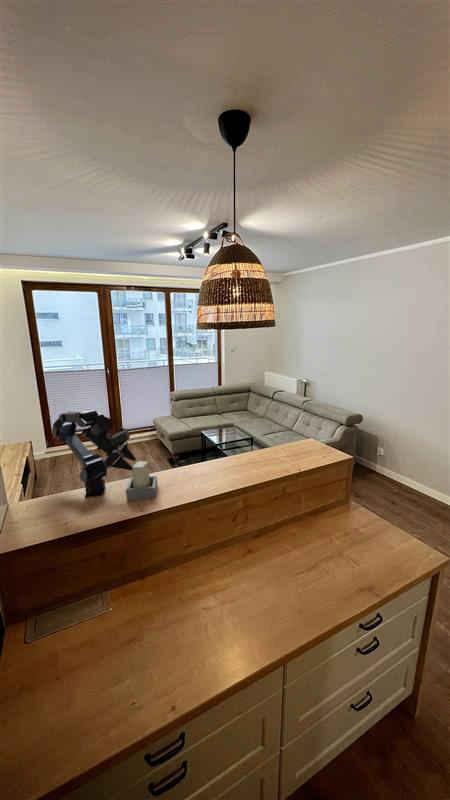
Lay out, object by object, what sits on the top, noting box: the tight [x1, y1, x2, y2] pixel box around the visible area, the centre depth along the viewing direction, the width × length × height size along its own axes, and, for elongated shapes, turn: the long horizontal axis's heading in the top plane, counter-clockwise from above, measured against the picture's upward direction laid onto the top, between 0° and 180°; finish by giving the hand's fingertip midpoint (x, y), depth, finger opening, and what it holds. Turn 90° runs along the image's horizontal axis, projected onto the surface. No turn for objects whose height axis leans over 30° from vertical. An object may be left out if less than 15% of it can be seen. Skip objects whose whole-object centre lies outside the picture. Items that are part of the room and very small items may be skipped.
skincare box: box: [131, 460, 150, 488], centre depth 125 cm, size 6×4×12 cm
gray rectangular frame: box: [125, 475, 158, 502], centre depth 126 cm, size 10×10×4 cm
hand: (133, 464), depth 123 cm, fingers open, 9 cm apart
